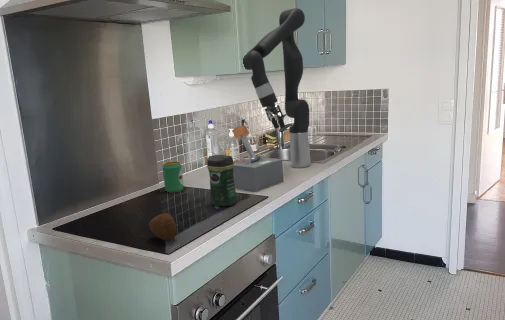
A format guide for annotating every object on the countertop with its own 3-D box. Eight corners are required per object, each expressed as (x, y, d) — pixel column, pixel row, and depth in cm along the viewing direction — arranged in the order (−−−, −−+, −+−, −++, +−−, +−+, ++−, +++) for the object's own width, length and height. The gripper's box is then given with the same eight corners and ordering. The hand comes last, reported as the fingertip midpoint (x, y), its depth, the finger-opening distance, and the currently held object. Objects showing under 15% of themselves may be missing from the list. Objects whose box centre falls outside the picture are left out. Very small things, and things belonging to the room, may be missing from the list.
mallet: (257, 161, 184) (241, 128, 186) (262, 158, 182) (245, 125, 184) (248, 164, 179) (232, 130, 182) (252, 161, 177) (236, 127, 180)
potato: (166, 246, 121) (163, 220, 120) (145, 239, 127) (142, 214, 126) (185, 237, 127) (183, 212, 125) (165, 231, 133) (162, 207, 131)
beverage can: (181, 192, 179) (178, 164, 176) (163, 193, 179) (159, 165, 177) (185, 187, 187) (182, 160, 184) (168, 188, 187) (165, 162, 185)
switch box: (256, 177, 195) (254, 151, 192) (283, 181, 184) (281, 154, 181) (228, 187, 182) (226, 159, 179) (256, 191, 171) (253, 162, 169)
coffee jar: (240, 202, 158) (236, 153, 154) (226, 208, 152) (222, 158, 148) (221, 199, 164) (217, 152, 160) (207, 205, 158) (202, 156, 154)
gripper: (278, 89, 184) (292, 124, 186) (268, 93, 197) (281, 125, 200) (263, 96, 182) (278, 131, 184) (254, 99, 196) (268, 131, 198)
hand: (280, 128), depth 192 cm, fingers open, 8 cm apart
